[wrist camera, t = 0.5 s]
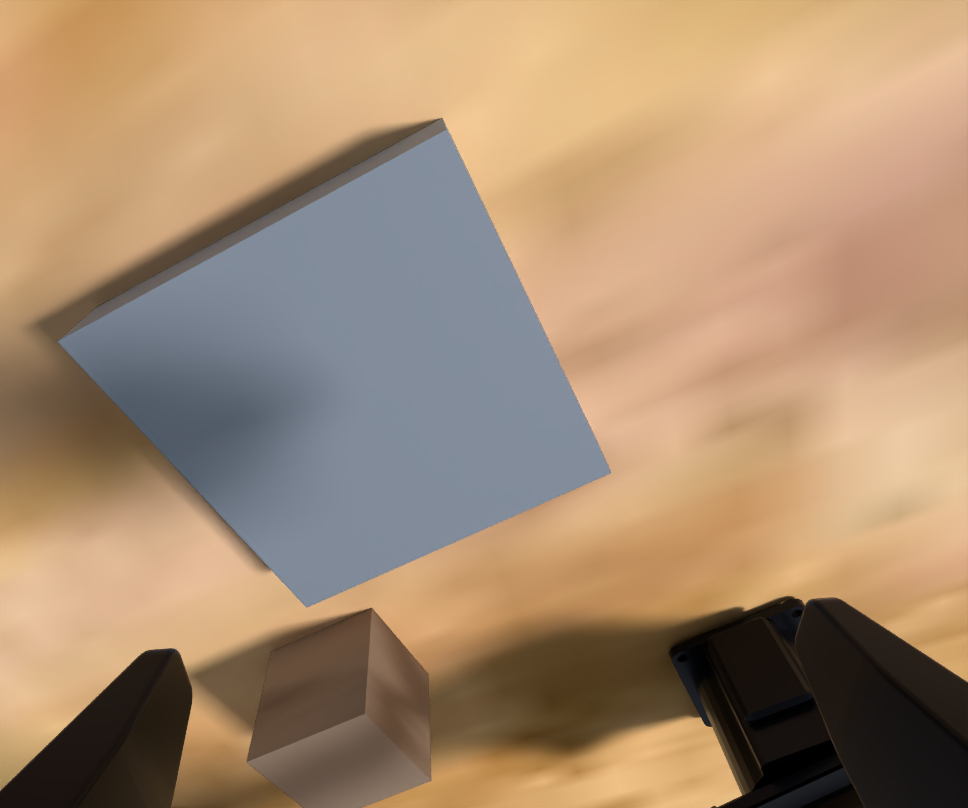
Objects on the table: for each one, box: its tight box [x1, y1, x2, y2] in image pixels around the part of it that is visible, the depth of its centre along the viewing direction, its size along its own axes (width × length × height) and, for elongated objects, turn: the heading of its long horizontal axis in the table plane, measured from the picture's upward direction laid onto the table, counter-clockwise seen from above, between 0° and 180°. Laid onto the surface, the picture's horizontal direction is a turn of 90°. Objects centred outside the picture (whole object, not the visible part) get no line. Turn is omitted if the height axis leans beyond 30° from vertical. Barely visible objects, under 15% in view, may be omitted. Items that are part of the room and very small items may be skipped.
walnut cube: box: [247, 608, 431, 808], centre depth 27 cm, size 5×5×5 cm
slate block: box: [57, 118, 611, 607], centre depth 21 cm, size 12×12×3 cm
